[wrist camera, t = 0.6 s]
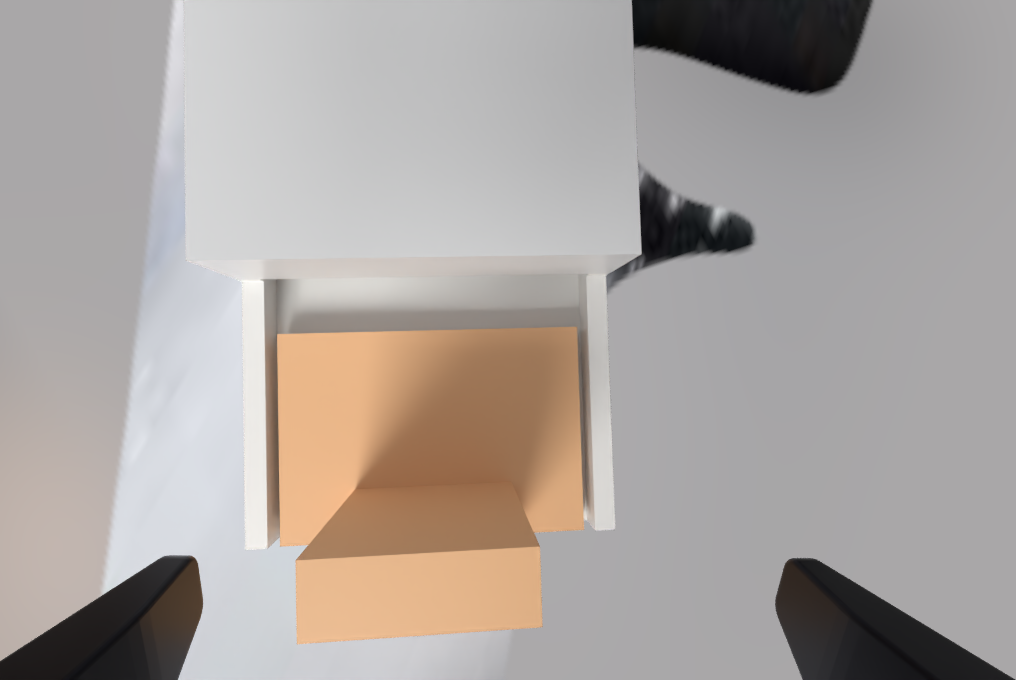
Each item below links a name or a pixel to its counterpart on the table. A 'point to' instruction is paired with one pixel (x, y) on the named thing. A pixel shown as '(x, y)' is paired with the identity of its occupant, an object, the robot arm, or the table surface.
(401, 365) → the tan boxy piece
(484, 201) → the camera case
